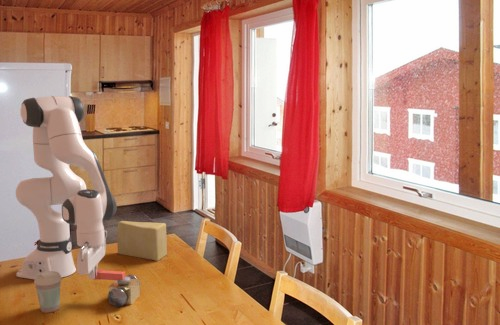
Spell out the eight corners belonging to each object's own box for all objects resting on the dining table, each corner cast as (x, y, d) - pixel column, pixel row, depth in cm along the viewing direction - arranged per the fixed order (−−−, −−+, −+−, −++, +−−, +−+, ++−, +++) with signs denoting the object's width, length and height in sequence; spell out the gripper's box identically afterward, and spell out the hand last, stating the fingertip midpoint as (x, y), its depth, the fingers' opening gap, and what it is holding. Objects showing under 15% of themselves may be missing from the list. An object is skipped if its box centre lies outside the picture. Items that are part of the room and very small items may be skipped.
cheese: (112, 256, 219) (110, 223, 217) (124, 249, 229) (122, 218, 226) (157, 262, 213) (156, 228, 210) (168, 254, 222) (166, 222, 220)
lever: (132, 280, 177) (132, 270, 176) (127, 285, 172) (127, 275, 172) (97, 278, 179) (97, 268, 178) (91, 282, 174) (91, 273, 174)
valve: (106, 306, 170) (105, 288, 169) (121, 290, 183) (120, 274, 182) (128, 308, 169) (127, 289, 168) (142, 292, 182) (141, 275, 181)
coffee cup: (41, 303, 172) (38, 270, 171) (66, 302, 173) (64, 269, 171) (32, 315, 164) (29, 280, 162) (59, 314, 165) (56, 279, 163)
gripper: (90, 247, 157) (93, 289, 159) (108, 230, 178) (110, 267, 179) (70, 248, 157) (73, 289, 159) (90, 230, 177) (92, 267, 179)
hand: (93, 277), depth 169 cm, fingers closed
